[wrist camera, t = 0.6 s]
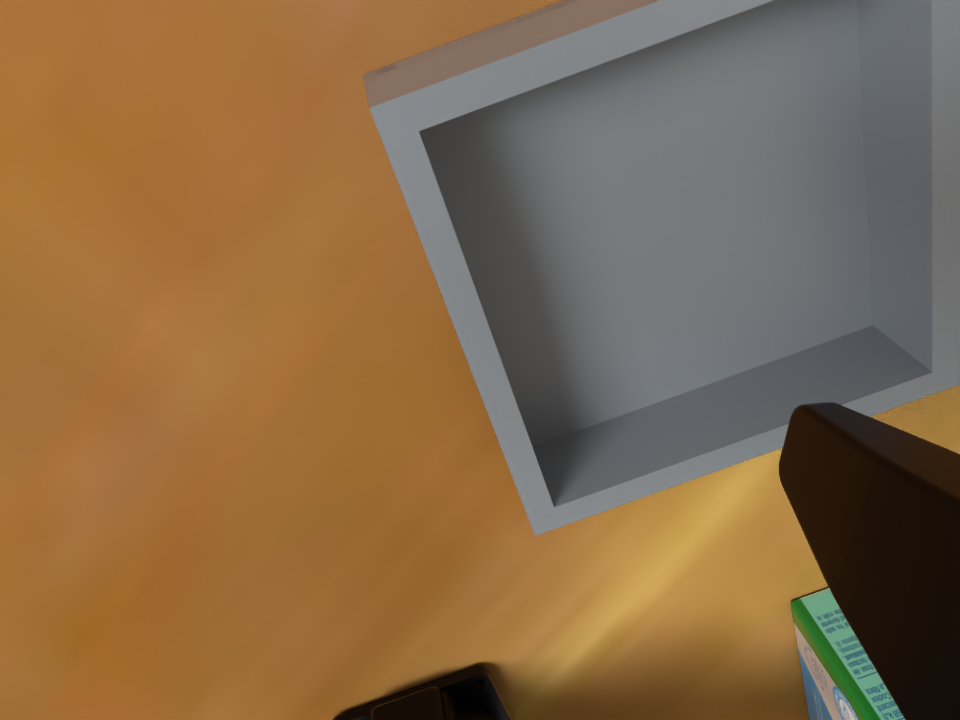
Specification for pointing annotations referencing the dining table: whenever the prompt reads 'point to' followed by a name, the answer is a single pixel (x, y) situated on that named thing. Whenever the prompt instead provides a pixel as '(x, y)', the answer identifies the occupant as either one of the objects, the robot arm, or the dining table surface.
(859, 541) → the robot arm
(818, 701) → the milk carton
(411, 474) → the dining table surface
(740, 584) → the dining table surface
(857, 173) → the slate bin
